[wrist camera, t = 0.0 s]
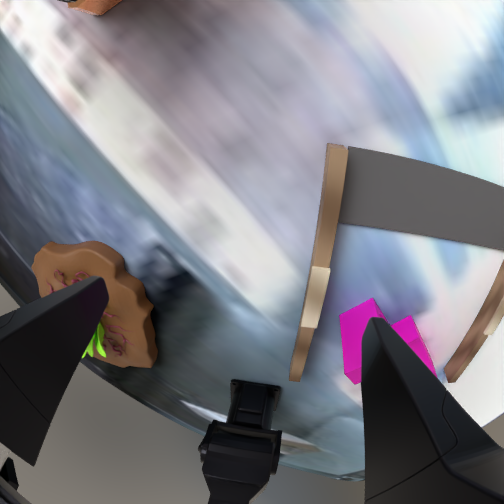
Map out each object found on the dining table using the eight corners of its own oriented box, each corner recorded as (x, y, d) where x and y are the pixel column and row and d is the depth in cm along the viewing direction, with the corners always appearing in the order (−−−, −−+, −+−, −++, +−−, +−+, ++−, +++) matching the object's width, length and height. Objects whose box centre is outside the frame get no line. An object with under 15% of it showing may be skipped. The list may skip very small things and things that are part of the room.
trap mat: (505, 249, 19) (507, 251, 19) (337, 220, 22) (338, 222, 21) (522, 194, 16) (524, 196, 16) (348, 146, 19) (349, 146, 18)
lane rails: (450, 368, 28) (456, 384, 25) (289, 363, 31) (287, 383, 28) (531, 198, 16) (547, 209, 14) (325, 142, 19) (329, 147, 16)
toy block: (432, 361, 28) (446, 408, 21) (389, 381, 31) (397, 429, 24) (394, 283, 24) (416, 340, 17) (339, 313, 26) (344, 373, 20)
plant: (76, 342, 39) (43, 388, 29) (29, 239, 30) (-25, 282, 20) (178, 367, 36) (148, 433, 26) (136, 239, 26) (67, 308, 17)
